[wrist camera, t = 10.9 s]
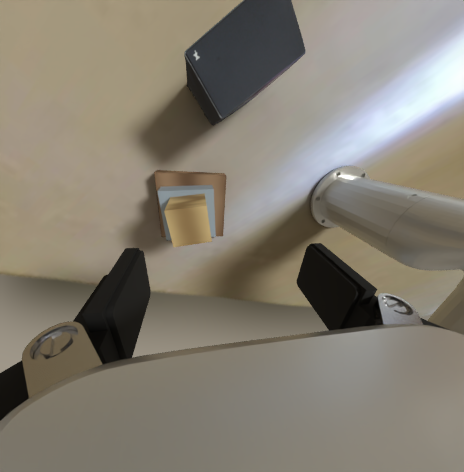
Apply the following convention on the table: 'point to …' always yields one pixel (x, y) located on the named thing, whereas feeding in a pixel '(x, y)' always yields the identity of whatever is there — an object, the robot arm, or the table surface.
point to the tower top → (176, 191)
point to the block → (188, 220)
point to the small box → (242, 55)
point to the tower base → (193, 180)
